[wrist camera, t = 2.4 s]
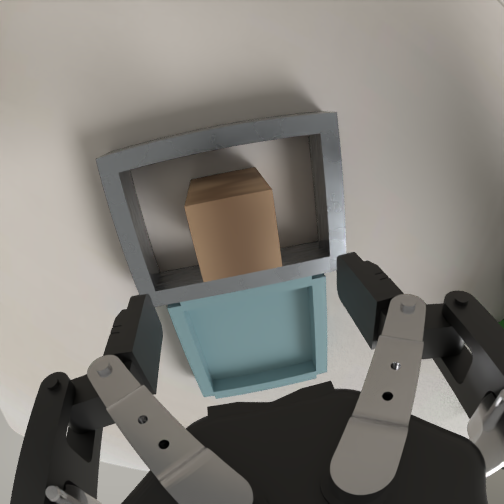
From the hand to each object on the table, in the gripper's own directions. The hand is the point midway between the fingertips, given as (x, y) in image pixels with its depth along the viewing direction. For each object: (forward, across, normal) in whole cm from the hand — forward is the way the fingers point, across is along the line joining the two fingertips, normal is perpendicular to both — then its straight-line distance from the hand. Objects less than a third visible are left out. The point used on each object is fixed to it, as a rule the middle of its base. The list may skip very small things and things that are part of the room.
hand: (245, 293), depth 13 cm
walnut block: (+13, 0, 0) cm, 13 cm away
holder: (+13, 0, 0) cm, 13 cm away
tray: (+13, 0, +13) cm, 19 cm away
